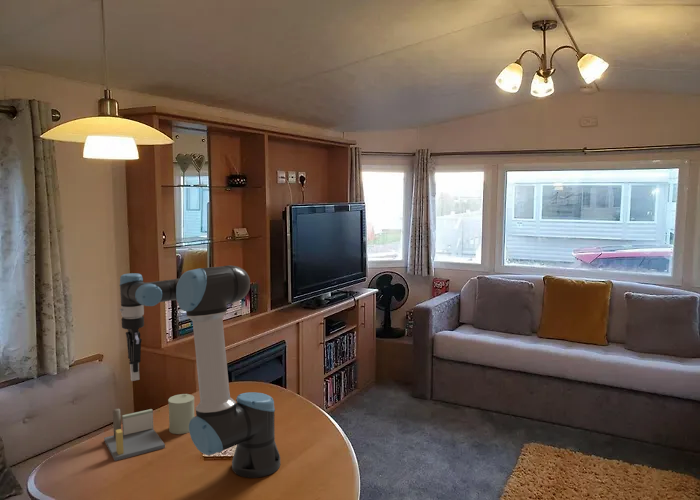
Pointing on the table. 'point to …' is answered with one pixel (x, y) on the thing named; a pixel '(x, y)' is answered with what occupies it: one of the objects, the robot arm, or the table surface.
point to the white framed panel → (137, 421)
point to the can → (180, 413)
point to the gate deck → (131, 441)
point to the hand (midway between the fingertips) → (135, 379)
